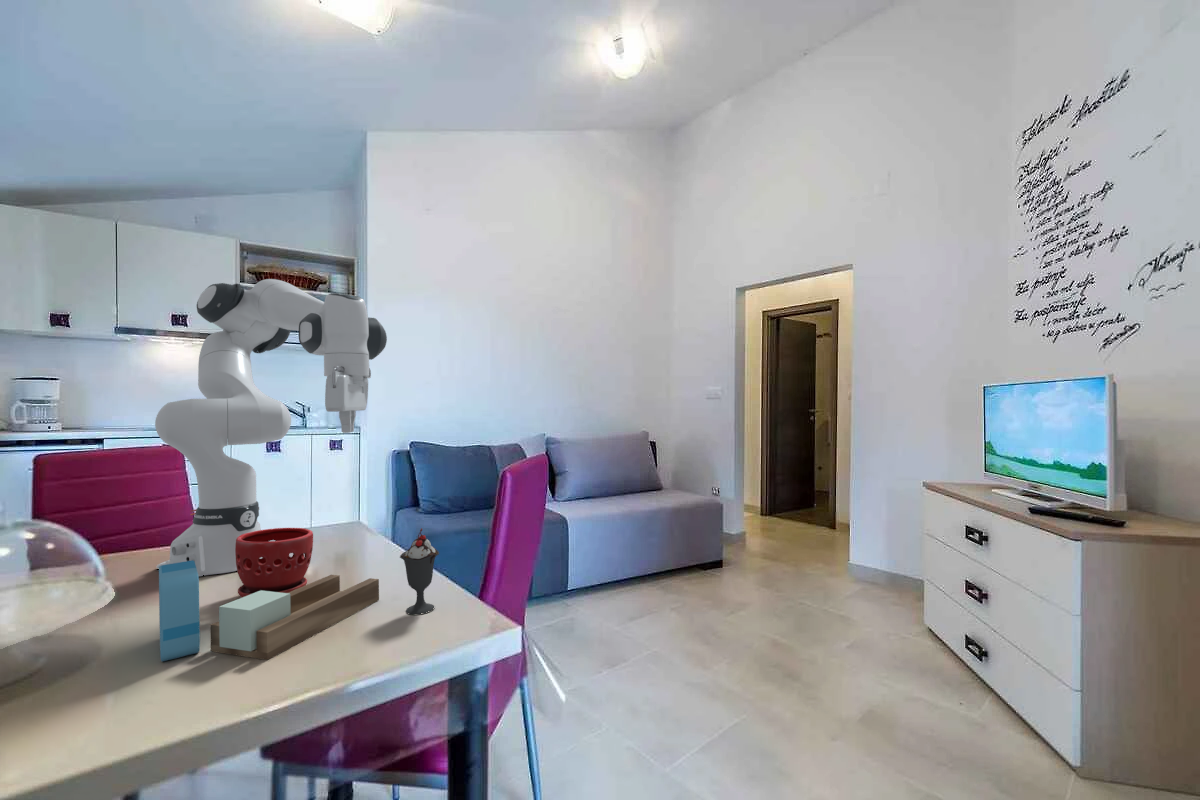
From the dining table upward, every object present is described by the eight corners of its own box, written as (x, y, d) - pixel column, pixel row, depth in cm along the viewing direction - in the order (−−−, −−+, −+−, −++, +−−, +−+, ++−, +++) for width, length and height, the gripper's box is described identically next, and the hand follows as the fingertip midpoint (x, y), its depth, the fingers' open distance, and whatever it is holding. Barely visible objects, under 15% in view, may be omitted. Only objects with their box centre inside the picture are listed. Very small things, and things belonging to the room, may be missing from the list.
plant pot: (256, 611, 96) (255, 545, 96) (223, 598, 103) (222, 536, 103) (326, 589, 107) (326, 530, 107) (292, 578, 114) (291, 522, 114)
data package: (199, 655, 80) (198, 575, 80) (160, 665, 77) (159, 582, 77) (194, 630, 89) (193, 558, 89) (159, 638, 86) (158, 563, 86)
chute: (210, 651, 81) (210, 624, 81) (331, 595, 104) (331, 574, 104) (267, 659, 78) (267, 632, 78) (379, 600, 101) (378, 579, 101)
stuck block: (219, 646, 80) (219, 606, 80) (261, 627, 86) (260, 590, 86) (250, 651, 78) (250, 610, 78) (290, 631, 85) (290, 593, 85)
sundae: (419, 619, 91) (418, 532, 91) (392, 612, 95) (391, 528, 95) (447, 606, 97) (446, 524, 97) (421, 600, 100) (420, 520, 100)
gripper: (350, 364, 105) (351, 434, 105) (372, 371, 125) (373, 429, 125) (315, 364, 104) (316, 435, 104) (343, 371, 124) (344, 430, 124)
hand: (347, 432), depth 115 cm, fingers closed
